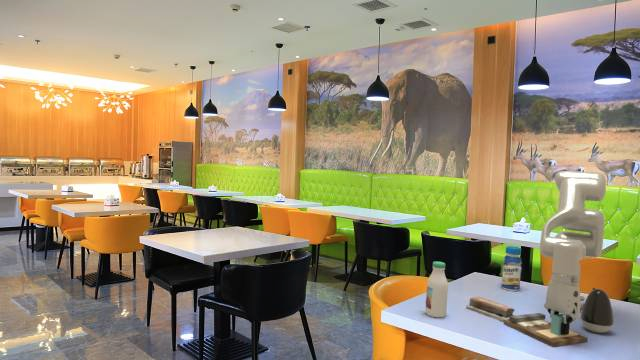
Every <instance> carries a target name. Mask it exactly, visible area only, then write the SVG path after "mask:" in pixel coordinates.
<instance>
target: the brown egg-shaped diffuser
mask: <svg viewBox="0 0 640 360" xmlns="http://www.w3.org/2000/svg"><path fill="white" fill-rule="evenodd" d="M580 312H581V313H580V320H581V323H582V325H583V327H584V328H585V329H587V331H590V332H592V333H596V334H597V333H598V334H605V333H607V332H609V331H610V330H611V329H612V327H613V325H614V322H615V321H614V311H613V306H612V304H611V300H610V297H609V294H608V293H607V292H606V291H605V290H603V289H601V288H595V287H593V288H592V290H591V291H590V292H589V293H588V295H587V296H586V298H585V300H584V303H583V306H582V308H581V311H580Z"/></svg>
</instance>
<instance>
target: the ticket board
mask: <svg viewBox="0 0 640 360" xmlns="http://www.w3.org/2000/svg"><path fill="white" fill-rule="evenodd" d="M515 315H516V316H510V318H509V320H504V322H503V325H505V326H507V327H509V328H511V329H513V330H516V331H518V332H520V333H523V334H524V335H526V336H528V337H531V338H533V339H535V340H536V341H539V342H541V343H544V344H546V345H547V346H550V347H552V348H554V347H555V348H557V347H561V346H567V345H577V344H581V343H587V342H588V337H587V336H585V335H583V334H580V333H578V335H576V336H568V337H561V338H554V339H549V338H547V337H545V336H543V335H541V334H538V333H536V331H538V330H546V329H551V321H548V320H546V314H544V313H541V312H534V313H527V314H515Z"/></svg>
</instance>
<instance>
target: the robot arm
mask: <svg viewBox="0 0 640 360" xmlns="http://www.w3.org/2000/svg"><path fill="white" fill-rule="evenodd" d="M606 181H607V180H606V177H605V175H604V174H603V173H601V172H595V171H593V172H592V171H576V170H575V171H574V170H560V171H558V172H556V173H555V176H554V182H555V187H556V188H557V189H558V192H559V196H558V204H557V205H558V206H557V212H556V213H554V214H553V215H552V216H551V217H549V218H548V219H547V220H546V221H545V223H544V225H543V226H542V229H541V234H540V241H539V242H540V243H539V251H540V254H541V255H542V256H543V257H545V258H549V259H550V258H551V259H552V265H551V267H552V268H551V269H552V270H551V279H549V282H548V285H547V290H546V296H545V302H544V305H543V307H544V309H546V310H547V312H548V313H549V317H550V318H549V319H552V315H557V314H563V323H561V334H562V335H566V334H569V330H570V327H571V326H570V325H571V323H572V322H574V321H576V320H577V321H578V320H581V315H580V314H581V313H580V312H581V310H582V308H583V306H582V304H581V302H585V300H586V298H585V296H584V295H581V291H580V278H581V277H580V276H581V264H580V262H581V261H582V260H583V259H584V258H585V257H587V258H599V257H600V256H601V255H602V252H603V248H604V247H603V245H604V235H605V233H604V232H605V216H604V213H603V212H602V211H601V210H598V209H592V208H585V203H586V201H587V202H589V201H590V202H601V201H603V200H604V198H605V196H606V189H607V187H606V186H607V185H606ZM559 227H562V229H565V231H560V232H558V233H557V234H556V235H555V236H550V235H551V232H552V231H553V230H555V229H556V228H559ZM566 230H567V231H566ZM567 316H568V318H567Z"/></svg>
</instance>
